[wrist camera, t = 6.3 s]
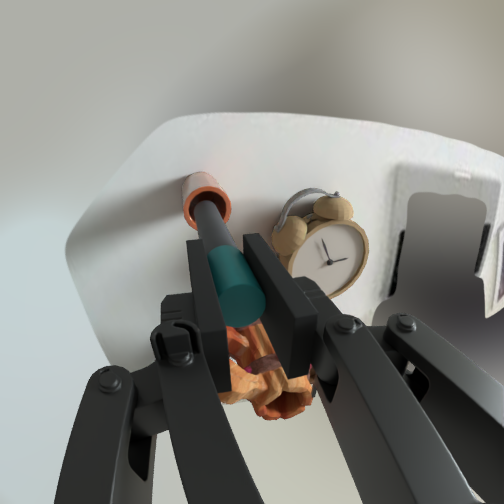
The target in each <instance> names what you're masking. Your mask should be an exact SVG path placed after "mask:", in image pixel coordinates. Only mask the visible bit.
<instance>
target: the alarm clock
mask: <svg viewBox="0 0 504 504" xmlns="http://www.w3.org/2000/svg"><path fill="white" fill-rule="evenodd" d="M312 193H323V194H326V196H323V197H320V198H319V199H318V200H317V201H316V202H315V204H314V207H313V211H314V213H311V214H309V215H306V216H305V217H303V218H301V217H298V216H288V217H287V214H288V212H289V210H290V209H291V207H292V205H294V204H295V203H296V202H297V201H298V200H299V199H300V198H302V197H303V196H306V195H308V194H312ZM352 217H353V208H352V205H351V204H350V202H349V201H347V200H346V199H344V198H342V197H340V196H339V192H337V191H336V192H335V193H334V194H328V193H326V192H324V191H323V190H321V189H317V188H309V189H304V190H302V191H300V192H298V193H296V194H295V195H294V196H292V197H291V198H290V199H289V200H288V201H287V203H286V204H285V206H284V208H283V211H282V215H281V218H280V221H279V223H278V224H277V225H276V226H274V230H273V233H272V245H273V247H274V249H275V251H276V252H278V253H279V260H280V262H281V263H282V264H283V266H284V267H285V268H286V270H287V271H288V272H289V274H290V275H291V276H292V278H295V277H302V276H306V277H308V278H309V279H311V280H313V281H315V282H316V283H317V285H318V286H319V287H320V288H321V290H323V292H324V293H325V294H326V296H328V297H329V299H332V298H334V297H336V296H338V295H340V294H342V293H343V292H345V291H346V290H347V289H348V288H350V287H351V286H352V285H353V284H354V282H355V281H356V280H357V279H358V278H359V276H360V275H361V273H362V271H363V269H364V267H365V265H366V262H367V258H368V254H369V243H368V238H367V236H366V234H365V231H364V230H363V229H362V228H361V227H360V226H359V225H358V224H357V223H355V222H353V221H352V220H350V219H351V218H352Z"/></svg>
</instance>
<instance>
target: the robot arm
mask: <svg viewBox="0 0 504 504" xmlns="http://www.w3.org/2000/svg"><path fill="white" fill-rule="evenodd" d="M186 244H187V253H188V262H189V271H190V279H191V287H192V292H191V293H182V294H174V295H166V297H165V298H164V300H163V301H162V303H161V324H160V325H159V326H157V327H156V328H155V329H154V330H153V331H152V333H151V336H150V342H151V345H152V348H153V352H154V355H155V358H156V360H155V361H154V362H153V363H152V364H151V365H149V366H148V367H146V368H143V369H141V370H138V371H135V372H132V373H130V372H129V371H128V370H126V369H125V368H123V367H120V366H116V365H114V366H106V367H103V368H101V369H98V370H97V371H96V372H95V373H93V374H92V376H91V377H90V379H89V381H88V383H87V386H86V389H85V392H84V394H83V397H82V400H81V403H80V406H79V409H78V412H77V415H76V418H75V422H74V425H73V428H72V431H71V435H70V438H69V442H68V445H67V449H66V453H65V456H64V460H63V464H62V469H61V472H60V477H59V481H58V486H57V491H56V495H55V500H54V504H152V487H153V474H154V461H155V450H156V439H157V434H158V433H161V432H164V431H166V430H169V433H170V438H171V442H172V446H173V451H174V455H175V459H176V463H177V466H178V470H179V474H180V478H181V481H182V485H183V488H184V492H185V495H186V498H187V501H188V504H264V502H263V500H262V498H261V496H260V493H259V491H258V489H257V487H256V485H255V483H254V481H253V479H252V476H251V474H250V472H249V470H248V467H247V465H246V463H245V461H244V458H243V456H242V454H241V451H240V449H239V446H238V444H237V442H236V439H235V437H234V434H233V432H232V429H231V427H230V424H229V422H228V420H227V417H226V414H225V412H224V409H223V406H222V404H221V401H220V398H219V396H218V393H224V392H230V391H232V384H231V373H230V361H229V349H228V337H227V328H226V324H225V321H224V317H223V314H222V310H221V307H220V303H219V300H218V296H217V293H216V289H215V285H214V282H213V278H212V274H211V270H210V267H209V263H208V259H207V255H206V251H205V247H204V243H203V239H197V240H187V241H186ZM243 255H244V257H245V259H246V261H247V263H248V264H249V266H250V268H251V270H252V272H253V274H254V276H255V278H256V279H257V281H258V283H259V285H260V287H261V289H262V291H263V292H264V294H265V298H266V306H265V310H264V312H263V314H262V315H261V317H260V321H261V323H262V325H263V327H264V329H265V331H266V334H267V336H268V338H269V340H270V342H271V344H272V347H273V349H274V351H275V353H276V355H277V357H278V359H279V362H280V364H281V366H282V368H283V370H284V372H285V374H286V377H287V379H288V380H289V379H293V378H297V377H301V376H305V375H309V369H310V364H311V365H312V367H313V368H314V370H315V372H316V373H315V378H314V382H313V387H312V391H311V396H312V398H313V397H315V394H316V390H317V391H318V394H319V396H320V398H321V401H322V403H323V406H324V408H325V411H326V413H327V416H328V418H329V421H330V423H331V425H332V428H333V430H334V433H335V435H336V438H337V440H338V443H339V445H340V448H341V450H342V452H343V455H344V457H345V460H346V462H347V465H348V468H349V470H350V472H351V475H352V477H353V480H354V482H355V485H356V487H357V490H358V492H359V495H360V498H361V500H362V503H363V504H504V387H503V386H502V385H501V384H500V383H499V382H498V381H496V380H495V379H494V378H493V377H491V376H490V375H489V374H488V373H487V372H485V371H484V370H483V369H482V368H481V367H479V366H478V365H477V364H476V363H474V362H473V361H472V360H471V359H469V358H468V357H467V356H466V355H464V354H463V353H462V352H461V351H459V350H458V349H457V348H456V347H454V346H453V345H452V344H450V343H449V342H447V341H446V340H445V339H444V338H443V337H441V336H440V335H439V334H437V333H436V332H435V331H433V330H432V329H431V328H429V327H428V326H427V325H426V324H424V323H423V322H421V321H420V320H419V319H418V318H416V317H414V316H412V315H409V314H406V313H397V314H393V315H392V316H390V317H389V319H388V322H387V325H386V326H366V325H365V324H364V323H363V322H362V321H361V320H360V319H359V318H356V317H354V316H352V315H347V314H342V313H341V312H340V310H339V309H338V308H337V307H336V306H335V304H334V303H333V302H332V301H331V300H330V299H329V297H328V296H326V294H325V293H324V292H323V290H321V288H320V287H319V286H318V285H317V283H316V282H315V281H313V280H311V279H309V278H308V277H306V276H302V277H295V278H292V276H291V275H290V274H289V272H288V271H287V270H286V268H285V267H284V266H283V264H282V263H281V262H280V260H279V259H278V258H277V257H276V255H275V254H274V253H273V251H272V250H271V249H270V247H269V246H268V245H267V243H266V242H265V241H264V240H263V238H262V237H261V236H260V234H259V233H255V234H245V235H243ZM410 362H411V363H412V364H413V365H414V366H415V369H414V371H413V372H410V371H409V370H407V368H408V365H409V363H410ZM470 487H471V488H472V489H473V490H474V491H475V492H476V493H477V494H478V495H479V496H480V497H481V498H482V499H483V500H484V501H485V503H481V502H479V501H478V500H477V499H476V497H475V496H474V494H473V492H472V490H471V488H470Z"/></svg>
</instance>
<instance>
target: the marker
mask: <svg viewBox="0 0 504 504" xmlns="http://www.w3.org/2000/svg"><path fill="white" fill-rule="evenodd" d="M194 216H195V221H196V226H197V230H198V235H199V239H203V243H204V247H205V251H206V255H207V259H208V263H209V267H210V270H211V274H212V278H213V282H214V285H215V289H216V293H217V296H218V300H219V303H220V307H221V310H222V314H223V317H224V321H225V324H226V326H229V327H244V326H247V325H250V324H252V323H254V322H255V321H256V320H258V319H259V318H260V317H261V315H262V314H263V312H264V310H265V306H266V298H265V294H264V292H263V291H262V289H261V287H260V285H259V283H258V281H257V279H256V278H255V276H254V274H253V272H252V270H251V268H250V266H249V264H248V263H247V261H246V259H245V257H244V255H243V253H242V252H241V251H240V250H239V249H238V248H237V246H236V244H235V242H234V240H233V238H232V236H231V234H230V232H229V231H228V229H227V227H226V225H225V223H224V221H223V219H222V217H221V215H220V213H219V211H218V209H217V207H216V205H215V204H214V203H213V202H211V201H201V202H199V203H198V204H197V205H196V207H195V209H194Z"/></svg>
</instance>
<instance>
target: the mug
mask: <svg viewBox="0 0 504 504" xmlns="http://www.w3.org/2000/svg"><path fill="white" fill-rule="evenodd" d="M226 328H227V337H228V349H229V357H232V358H233V359H235V360H236V362H237V364H238V365H237V364H236V363H234V362H233V361H232V360H230V359H229V361H230V373H231V384H232V391H230V392H224V393H218V396H219V398H220V401H221V402H222V403H226V404H233V403H235V402H237V401H239V400H240V399H247V400H248V401H250V402H251V403H252V405H253V408H254V410H255V413H256V414H257V415H258V416H259V417H261V416H262V417H263V419H265V420H277V419H279V418H283V419H288V418H291V417H293V416H295V415H297V414H299V413H301V412H303V411H304V410H305V406H307V405H311V403H312V400H313V398H312V396H311V391H312V387H311V385H310V383H309V375H305V376H301V377H297V378H293V379H289V380H288V379H287V377H286V374H285V372H284V370H283V368H282V366H281V364H280V362H279V359H278V357H277V355H276V353H275V351H274V349H273V347H272V344H271V342H270V340H269V338H268V336H267V334H266V331H265V329H264V327H263V325H262V323H261V321H260V318H259V319H258V320H256V321H255V322H254V323H252V324H250V325H247V326H244V327H229V326H226ZM311 367H312V365H311V364H310V369H311ZM310 369H309V371H310Z"/></svg>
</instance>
